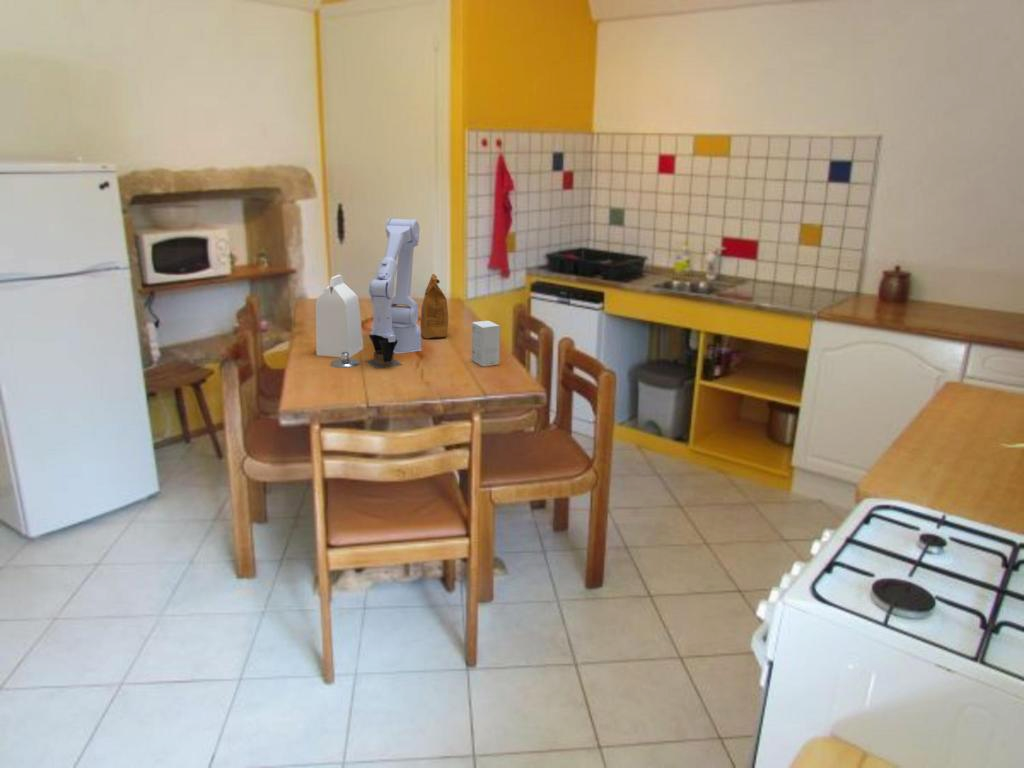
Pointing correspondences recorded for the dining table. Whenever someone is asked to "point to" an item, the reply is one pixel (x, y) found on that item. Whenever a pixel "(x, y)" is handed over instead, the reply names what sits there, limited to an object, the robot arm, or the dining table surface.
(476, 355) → the small box
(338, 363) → the hub
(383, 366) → the mat
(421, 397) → the dining table surface
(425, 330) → the coffee package
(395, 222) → the robot arm
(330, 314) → the milk
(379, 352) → the ring
